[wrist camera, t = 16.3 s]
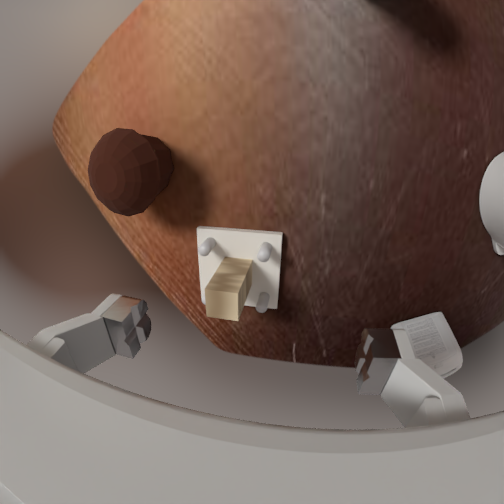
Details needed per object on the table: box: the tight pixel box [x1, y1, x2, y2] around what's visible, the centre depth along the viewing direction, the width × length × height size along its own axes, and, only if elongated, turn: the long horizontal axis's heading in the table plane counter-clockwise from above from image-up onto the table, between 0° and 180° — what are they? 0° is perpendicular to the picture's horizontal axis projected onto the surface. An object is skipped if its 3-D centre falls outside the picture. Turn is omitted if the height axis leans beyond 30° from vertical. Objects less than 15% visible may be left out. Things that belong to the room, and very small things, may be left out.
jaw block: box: [205, 257, 252, 321], centre depth 38 cm, size 4×4×9 cm
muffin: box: [88, 128, 174, 216], centre depth 34 cm, size 12×11×10 cm
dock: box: [197, 226, 283, 313], centre depth 41 cm, size 12×12×4 cm
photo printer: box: [391, 312, 463, 378], centre depth 36 cm, size 10×4×12 cm, turn 110°
